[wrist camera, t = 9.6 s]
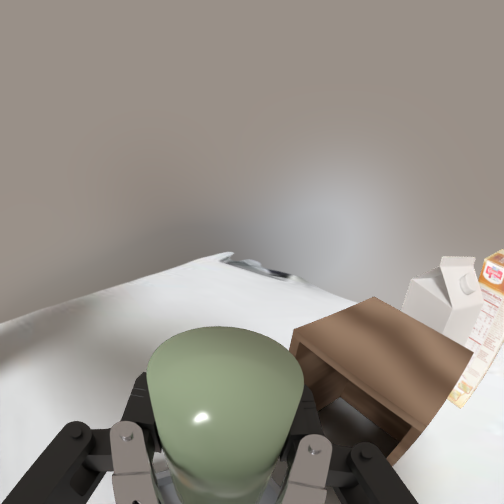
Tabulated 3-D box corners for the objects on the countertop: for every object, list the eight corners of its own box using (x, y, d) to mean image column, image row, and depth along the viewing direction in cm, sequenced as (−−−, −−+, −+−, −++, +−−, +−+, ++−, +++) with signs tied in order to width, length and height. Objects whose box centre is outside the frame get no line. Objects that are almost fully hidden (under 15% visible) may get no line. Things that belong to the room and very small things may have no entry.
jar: (170, 516, 9) (129, 421, 6) (179, 448, 14) (163, 320, 11) (266, 521, 10) (318, 432, 6) (260, 453, 14) (290, 329, 11)
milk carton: (371, 378, 33) (420, 244, 27) (407, 368, 35) (455, 246, 29) (398, 413, 27) (467, 271, 20) (434, 398, 29) (496, 269, 22)
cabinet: (347, 507, 16) (426, 426, 11) (267, 431, 25) (293, 329, 20) (410, 445, 22) (474, 352, 17) (338, 391, 31) (374, 296, 27)
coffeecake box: (461, 349, 39) (502, 247, 32) (489, 367, 33) (535, 263, 26) (426, 385, 31) (483, 256, 25) (460, 410, 26) (530, 279, 19)
